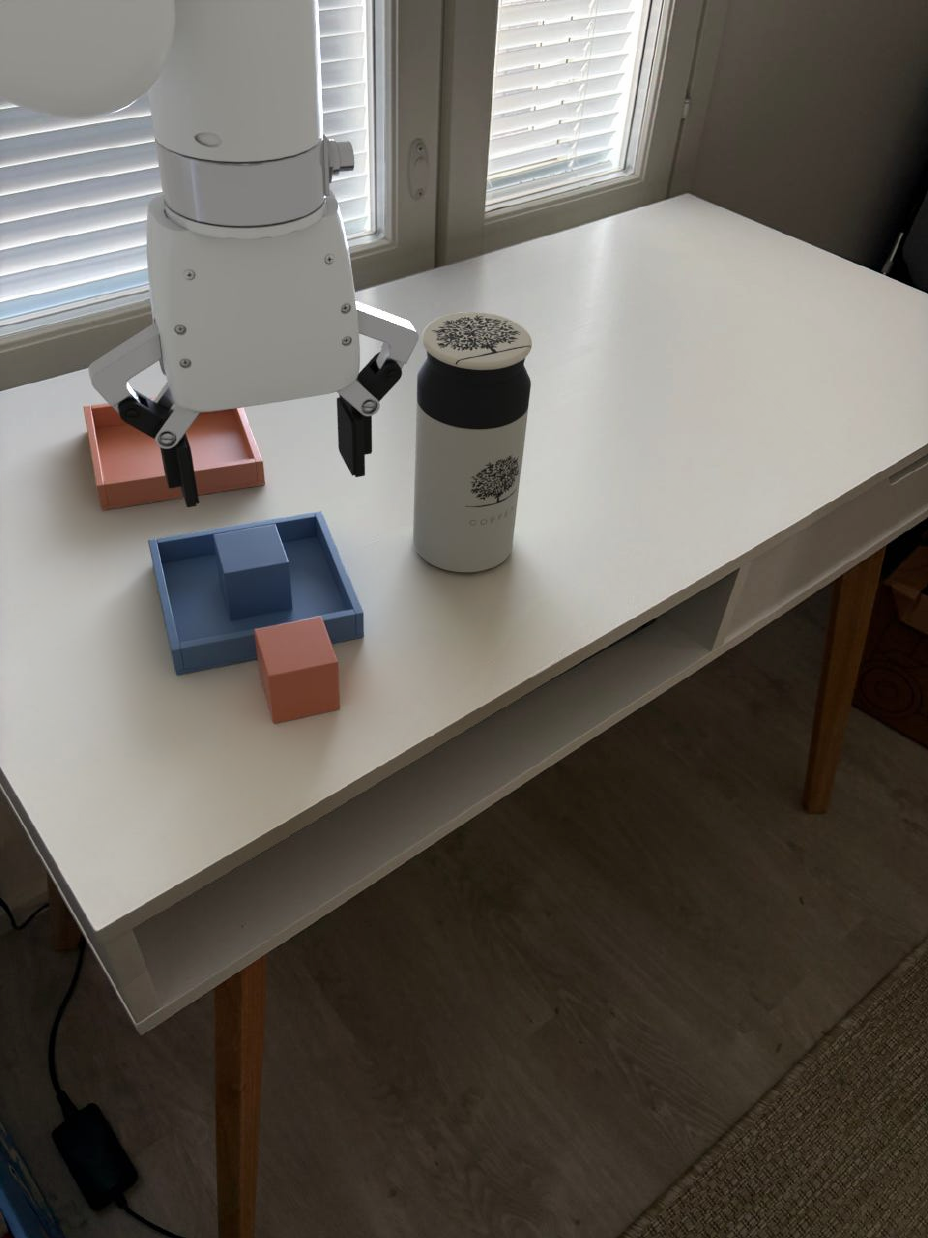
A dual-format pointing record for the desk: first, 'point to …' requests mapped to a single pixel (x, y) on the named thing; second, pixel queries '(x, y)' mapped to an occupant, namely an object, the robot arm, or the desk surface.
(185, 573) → the blue tray
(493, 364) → the travel mug
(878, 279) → the desk surface
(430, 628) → the desk surface
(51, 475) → the desk surface
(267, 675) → the terracotta block
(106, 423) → the terracotta tray
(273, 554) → the blue block
